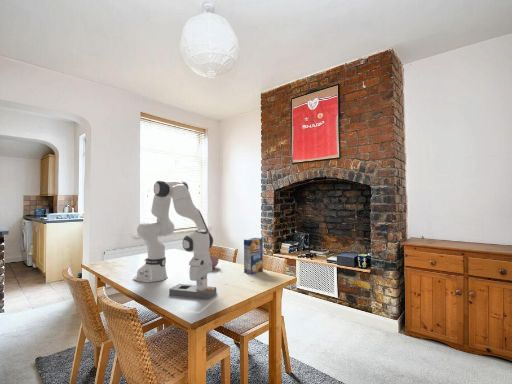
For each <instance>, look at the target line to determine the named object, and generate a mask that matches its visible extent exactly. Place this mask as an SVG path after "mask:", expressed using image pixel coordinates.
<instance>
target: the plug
mask: <svg viewBox="0 0 512 384" xmlns="http://www.w3.org/2000/svg"><path fill="white" fill-rule="evenodd" d="M200 281H201V286H197V281H195V282H196V283H195V285H196V290H198V291H205V290H206V289H207V286H208V277H207V278H203V277H202V278H201V280H200Z"/></svg>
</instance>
